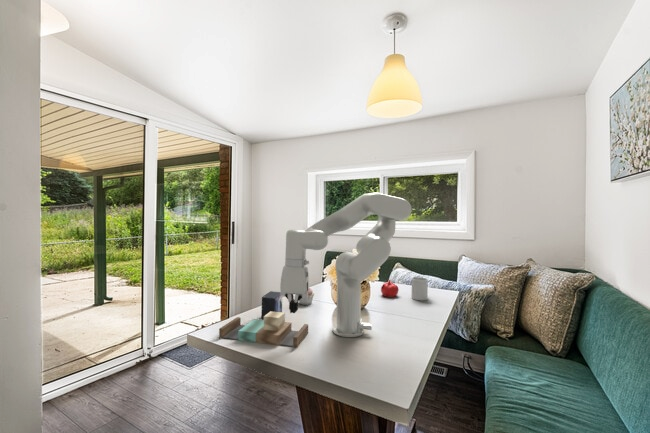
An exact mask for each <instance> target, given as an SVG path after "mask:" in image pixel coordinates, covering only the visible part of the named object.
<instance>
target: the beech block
mask: <svg viewBox="0 0 650 433" xmlns="http://www.w3.org/2000/svg"><path fill="white" fill-rule="evenodd" d="M285 315H286V313H285V312H283V311H282V312H272V311H270V312H269V313H268V314H266V315H265V316H264V330H271V331H280V330H281V329H282V328H283V327H284V326H285V322H286V321H285V320H286V316H285Z"/></svg>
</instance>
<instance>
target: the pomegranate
mask: <svg viewBox="0 0 650 433" xmlns="http://www.w3.org/2000/svg"><path fill="white" fill-rule="evenodd" d="M380 292H381V295H383V297H386V298H394V297H396V296H397V295H398V293H399V287H398V285H397V284H396V282H394V281H391V279H388V281H386V282H383V284H382V286H381V287H380Z"/></svg>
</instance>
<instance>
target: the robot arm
mask: <svg viewBox="0 0 650 433" xmlns="http://www.w3.org/2000/svg"><path fill="white" fill-rule="evenodd" d="M412 210H413V209H412V205H411V203H410V202H409V201H408V200H407V199H405V198H402V197H397V196H392V195H388V194H383V193H380V192H371V193H370V192H369V193H364V194H362V195H360V196H358V197H357V198H355V199H354V200H352V201H351V202H349V203H348V204H346V205H344V206H343V207H342V208H340V209H339V210H337V211H335V212H332V214H329V215H328V216H326V217H324V218H322V219H320V220H319V221H317V222H315V223H313V224H312V225H311V226H310V227H307V228H306V229H305V230H303V229H289V230H287V232H286V235H285V257H284V258H285V259H284V261H285V262H284V265H283V267H282V271H281V277H280V291H279V292H280V295H282V297H285V298H286V299H287V301H288V309H289V313H290V314H295V313H297V311H298V310H299V300H300V299H301V298H307V297H308V291H309V288H310V277H309V268H308V266H307V265H309V264H310V260H307V258H306V257H307V255H306V254H307V252H306V251H307V250H313V251H321V250H324V249H325V248H327V246H328V244H329V237H330V236H332V235H333V234H336V233H339V232H344V231H347V230H350V229H351V228H353V227H355V226H356V225H358V224H359V223H360V222H362V221H363V220H365V219H366V218H368V217H369V216H372V215H374V216H375V215H377V217H378V218H377V223H376V224H375V225H374V226H373V227H372V228H371V229H370V230H369V231H367V233H366V234H364V235H363V236H362V237H361V238H360V239H359V240H358V241H357V244H356V246H355V248H356V252H357V253H354V252H351V251H344V252H342V253H340V254H339V255H338V256H337V258H336V260H335V265H334V266H335V268H334V269H335V276H336V324H335V325H333V327H332V332H333V333H334V334H335V335H337V336H338V337H343V338H356V337H360V336H363V335H364V334H365V330H366V331H372V328H373V326H372V324H370V323H369V322H363V318H361V317H362V316H361V314H362V312H361V310H362V309H361V307H362V306H361V304H362V303H361V302H362V296H361V294H362V285H361V281H364V280H367V279H369V277H370V276H372V275H373V274H374V273H375V272H376V271H377V270H378V269H379V268H380V267H381V266H382V265H383V264H384V263H385V262H386V261H387V260H388V258H389V257H390V254H391V250H392V247H391V243H390V242H389V241H390V240H392V239H393V237H394V235H395V233H396V221H405V220H406V219H408V218H410V215H411V214H412Z"/></svg>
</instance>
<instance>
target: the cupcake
mask: <svg viewBox="0 0 650 433" xmlns="http://www.w3.org/2000/svg"><path fill="white" fill-rule="evenodd" d="M314 296H315V293H314V292H313V289H312V288H311V287H309V291H308V297H307V298H301V299H300V300H299V301H298V304H300V305H303V306H308V305H311V304H312V303H313V299H314Z"/></svg>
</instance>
